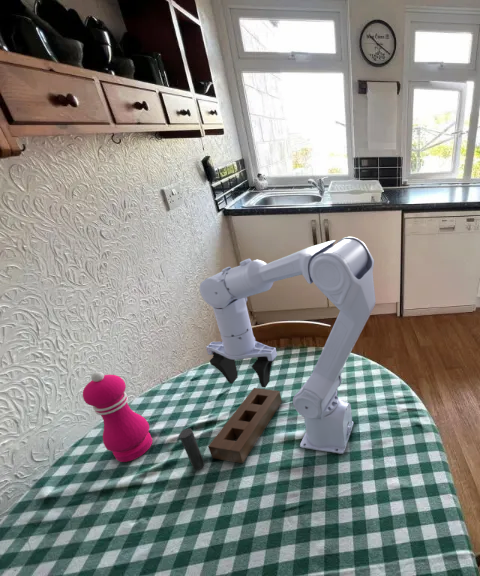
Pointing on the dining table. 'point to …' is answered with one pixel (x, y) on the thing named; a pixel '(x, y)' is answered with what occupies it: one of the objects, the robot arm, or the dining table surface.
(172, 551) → the dining table surface
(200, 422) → the dining table surface
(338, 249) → the robot arm
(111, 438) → the pepper mill
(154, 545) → the dining table surface
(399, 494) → the dining table surface
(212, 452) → the holder
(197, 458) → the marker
